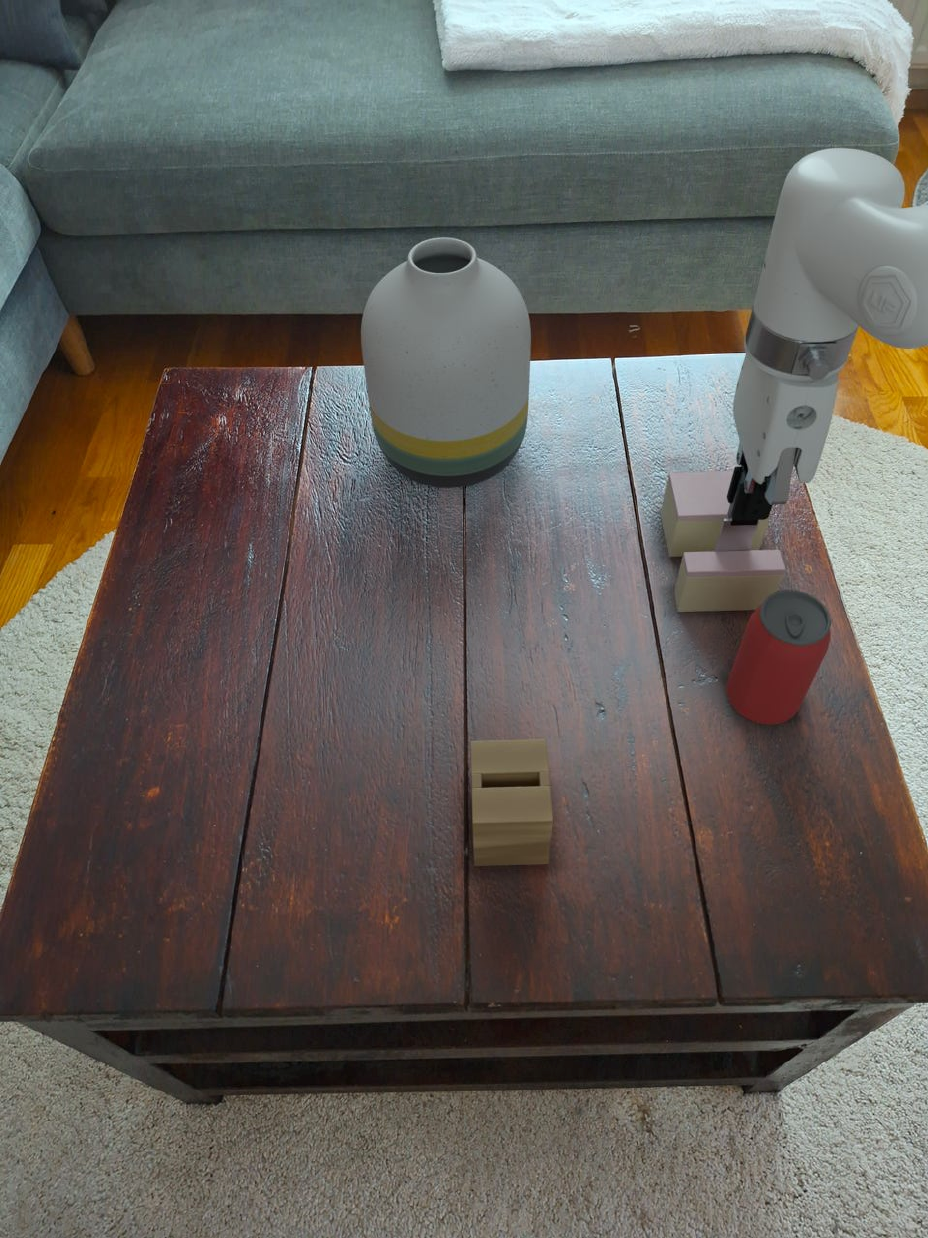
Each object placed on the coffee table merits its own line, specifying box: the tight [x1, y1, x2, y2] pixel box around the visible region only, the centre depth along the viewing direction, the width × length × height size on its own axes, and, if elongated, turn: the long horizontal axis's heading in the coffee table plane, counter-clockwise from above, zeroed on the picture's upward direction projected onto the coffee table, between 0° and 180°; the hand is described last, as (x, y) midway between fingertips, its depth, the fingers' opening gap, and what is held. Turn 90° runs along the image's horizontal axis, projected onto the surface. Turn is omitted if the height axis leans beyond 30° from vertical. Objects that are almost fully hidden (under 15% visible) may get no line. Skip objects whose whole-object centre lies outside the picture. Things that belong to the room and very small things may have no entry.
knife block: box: [469, 738, 554, 867], centre depth 74 cm, size 7×6×8 cm
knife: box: [714, 465, 771, 551], centre depth 86 cm, size 2×3×16 cm, turn 91°
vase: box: [360, 236, 532, 489], centre depth 96 cm, size 17×17×24 cm
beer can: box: [725, 589, 832, 726], centre depth 80 cm, size 7×7×12 cm
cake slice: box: [673, 549, 787, 613], centre depth 89 cm, size 2×9×6 cm, turn 91°
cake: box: [660, 470, 772, 558], centre depth 94 cm, size 6×9×6 cm, turn 91°
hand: (746, 508), depth 83 cm, fingers closed on knife, 1 cm apart
